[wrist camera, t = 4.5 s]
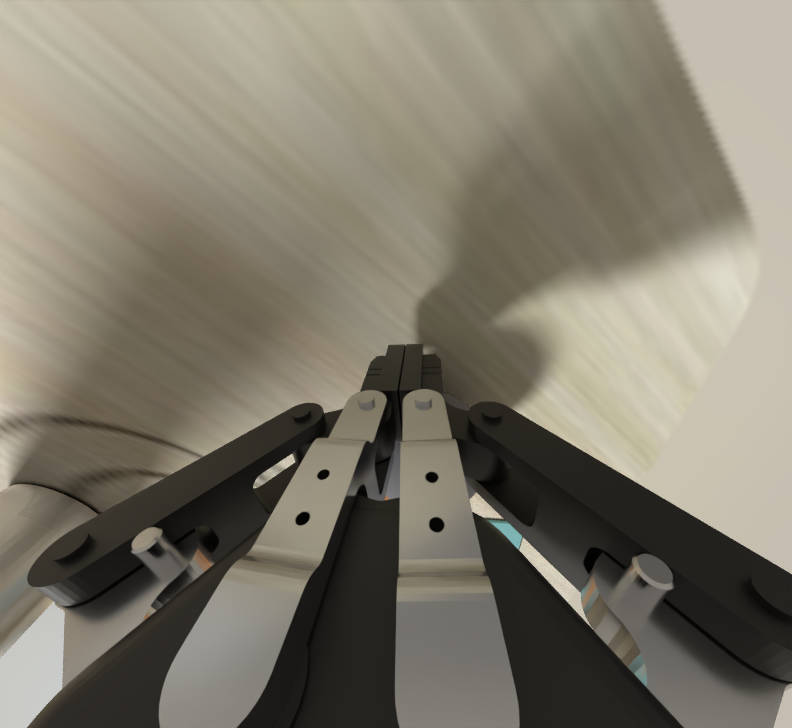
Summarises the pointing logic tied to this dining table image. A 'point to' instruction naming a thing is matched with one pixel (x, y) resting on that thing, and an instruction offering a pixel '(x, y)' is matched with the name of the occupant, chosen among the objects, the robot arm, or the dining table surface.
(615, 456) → the dining table surface
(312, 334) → the dining table surface
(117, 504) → the robot arm
